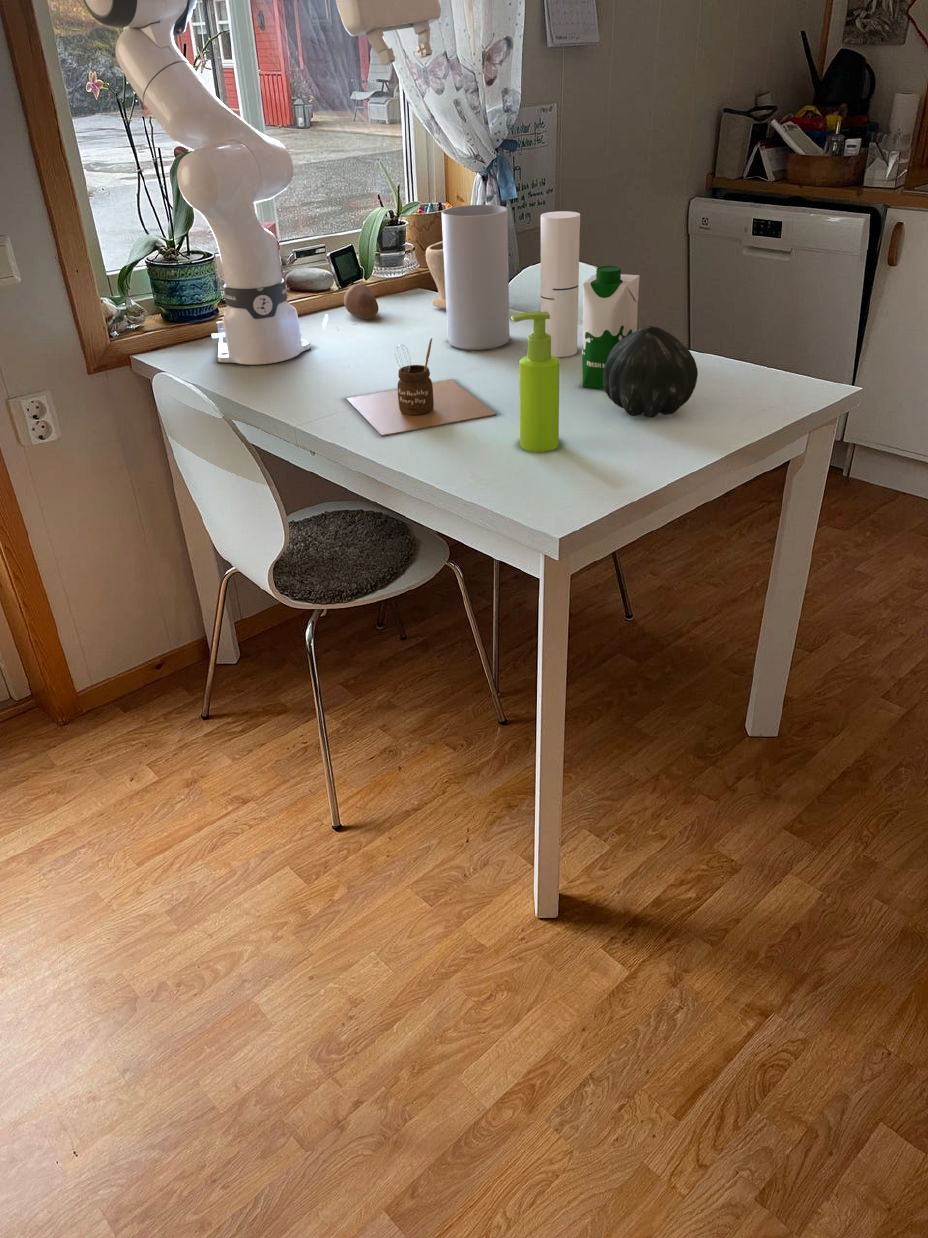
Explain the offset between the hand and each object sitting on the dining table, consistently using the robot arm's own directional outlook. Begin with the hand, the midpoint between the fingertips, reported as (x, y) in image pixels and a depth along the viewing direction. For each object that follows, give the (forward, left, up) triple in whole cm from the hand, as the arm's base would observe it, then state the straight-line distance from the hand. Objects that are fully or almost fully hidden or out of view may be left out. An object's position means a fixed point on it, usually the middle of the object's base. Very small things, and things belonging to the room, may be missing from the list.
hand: (407, 59), depth 150 cm
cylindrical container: (-3, +28, -51) cm, 58 cm away
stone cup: (-42, +23, -51) cm, 70 cm away
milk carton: (+18, +27, -51) cm, 61 cm away
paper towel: (+13, -7, -51) cm, 53 cm away
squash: (+33, +26, -51) cm, 66 cm away
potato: (-49, +2, -51) cm, 71 cm away
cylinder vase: (-17, +17, -51) cm, 56 cm away
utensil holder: (+15, -8, -51) cm, 54 cm away
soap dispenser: (+38, +3, -51) cm, 64 cm away
